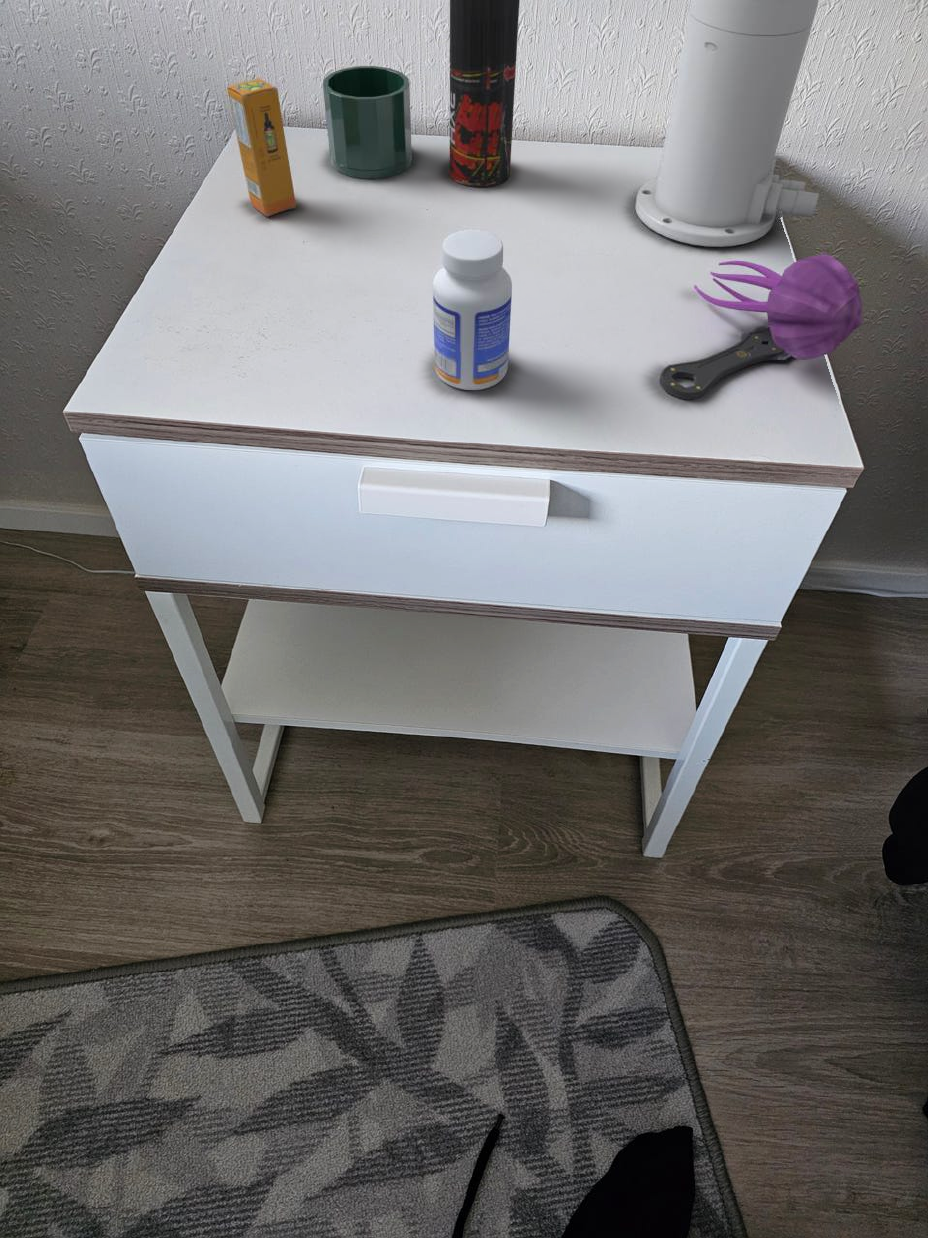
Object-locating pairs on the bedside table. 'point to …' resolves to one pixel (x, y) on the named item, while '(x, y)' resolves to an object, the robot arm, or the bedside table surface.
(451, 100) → the deodorant
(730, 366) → the hex hole wrench
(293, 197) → the supplement box
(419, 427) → the bedside table surface
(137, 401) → the bedside table surface
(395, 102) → the cup
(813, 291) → the jellyfish
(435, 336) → the pill bottle
